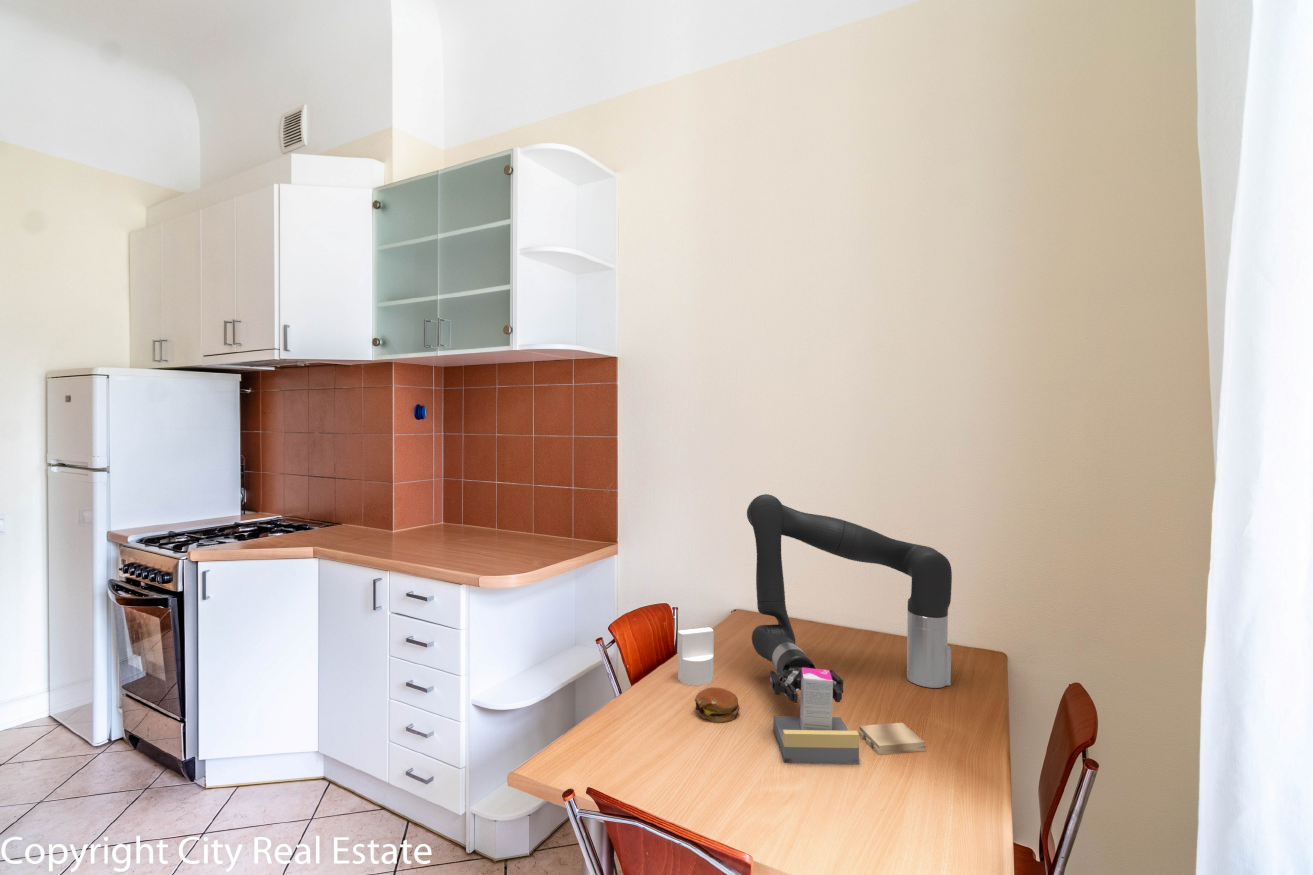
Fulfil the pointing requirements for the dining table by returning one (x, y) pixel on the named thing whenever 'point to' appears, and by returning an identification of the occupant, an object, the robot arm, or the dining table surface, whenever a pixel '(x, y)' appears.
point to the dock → (816, 742)
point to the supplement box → (816, 699)
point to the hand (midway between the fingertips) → (817, 698)
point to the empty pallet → (891, 738)
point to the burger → (717, 704)
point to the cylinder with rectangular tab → (696, 656)
